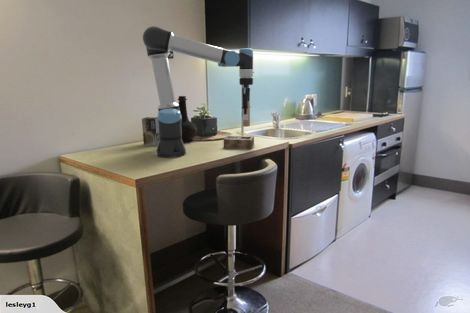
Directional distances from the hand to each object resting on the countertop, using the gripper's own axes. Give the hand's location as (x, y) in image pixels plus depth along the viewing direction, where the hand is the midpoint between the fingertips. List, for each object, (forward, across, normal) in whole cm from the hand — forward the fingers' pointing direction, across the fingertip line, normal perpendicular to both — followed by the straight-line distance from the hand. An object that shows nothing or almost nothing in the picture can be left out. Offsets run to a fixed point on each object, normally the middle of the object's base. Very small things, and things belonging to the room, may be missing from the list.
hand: (246, 119), depth 197 cm
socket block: (+16, 0, +4) cm, 16 cm away
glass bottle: (+16, +11, +42) cm, 46 cm away
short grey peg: (+16, 0, +8) cm, 18 cm away
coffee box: (+16, -4, +56) cm, 59 cm away
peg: (+4, 0, 0) cm, 4 cm away
